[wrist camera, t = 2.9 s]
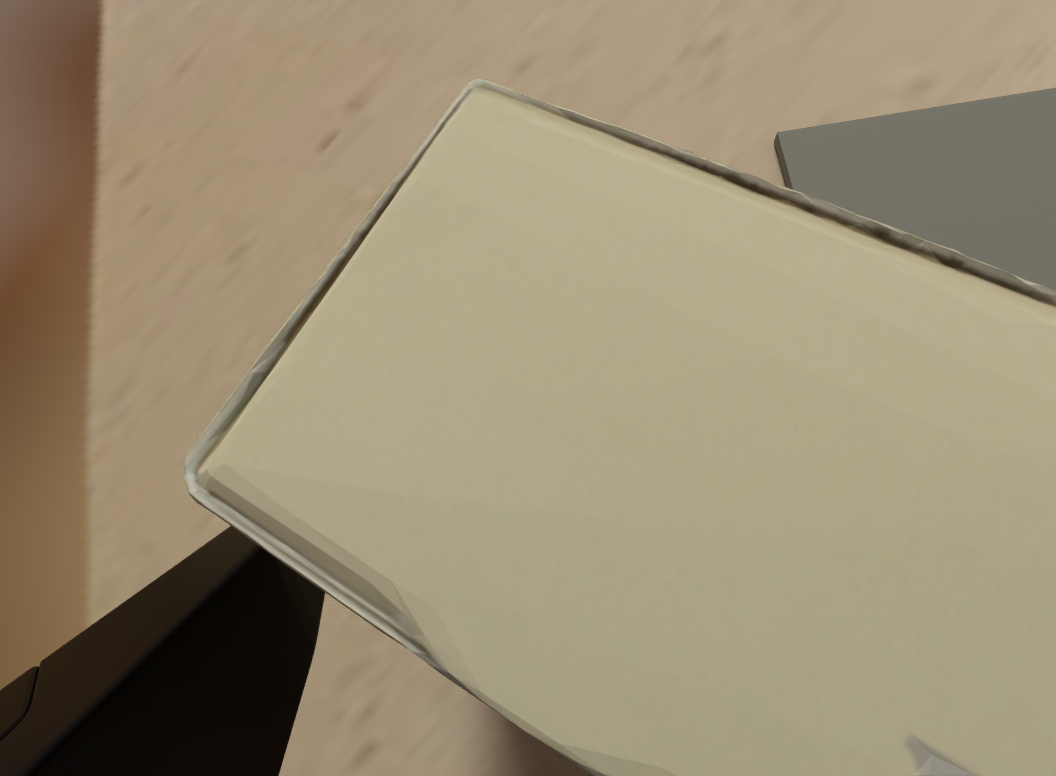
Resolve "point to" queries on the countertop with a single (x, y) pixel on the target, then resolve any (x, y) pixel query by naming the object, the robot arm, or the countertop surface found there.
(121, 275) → the countertop surface
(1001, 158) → the slate mat
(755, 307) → the skincare box
